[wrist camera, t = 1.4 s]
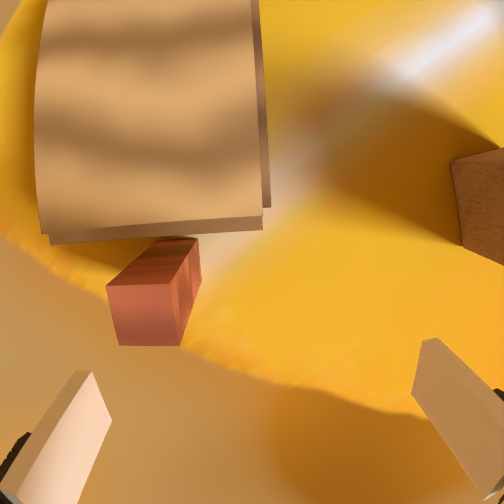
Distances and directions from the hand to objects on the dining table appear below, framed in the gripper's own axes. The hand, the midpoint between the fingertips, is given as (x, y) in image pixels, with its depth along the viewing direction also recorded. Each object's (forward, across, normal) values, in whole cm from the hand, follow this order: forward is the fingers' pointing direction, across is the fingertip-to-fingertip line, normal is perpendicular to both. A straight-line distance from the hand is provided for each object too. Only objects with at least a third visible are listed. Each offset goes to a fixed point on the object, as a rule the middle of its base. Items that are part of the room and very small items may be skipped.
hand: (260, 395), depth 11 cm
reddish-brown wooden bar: (+19, -6, 0) cm, 20 cm away
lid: (+13, -6, +17) cm, 23 cm away
